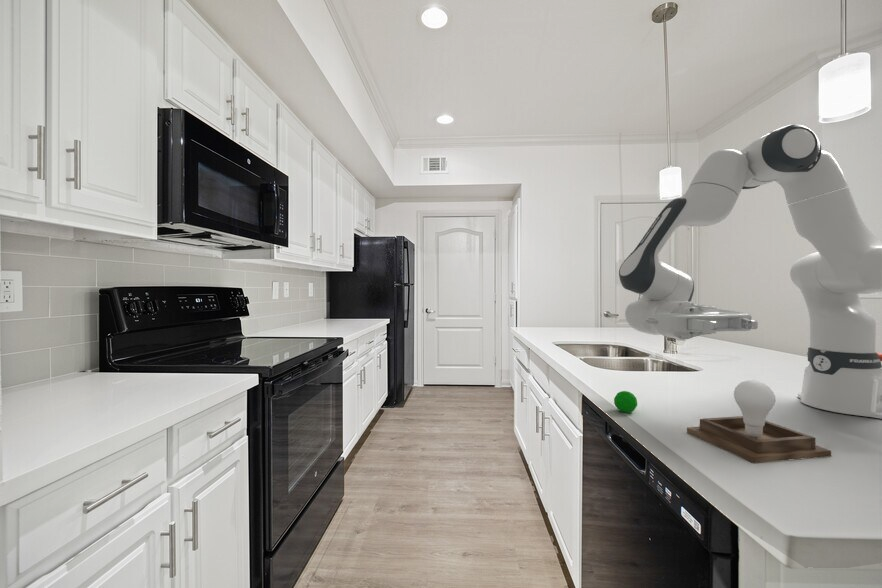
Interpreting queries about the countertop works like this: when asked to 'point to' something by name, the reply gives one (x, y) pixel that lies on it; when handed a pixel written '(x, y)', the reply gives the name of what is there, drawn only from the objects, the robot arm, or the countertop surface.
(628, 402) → the polyhedron
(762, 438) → the brown rimmed tray
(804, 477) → the countertop surface
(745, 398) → the lightbulb
